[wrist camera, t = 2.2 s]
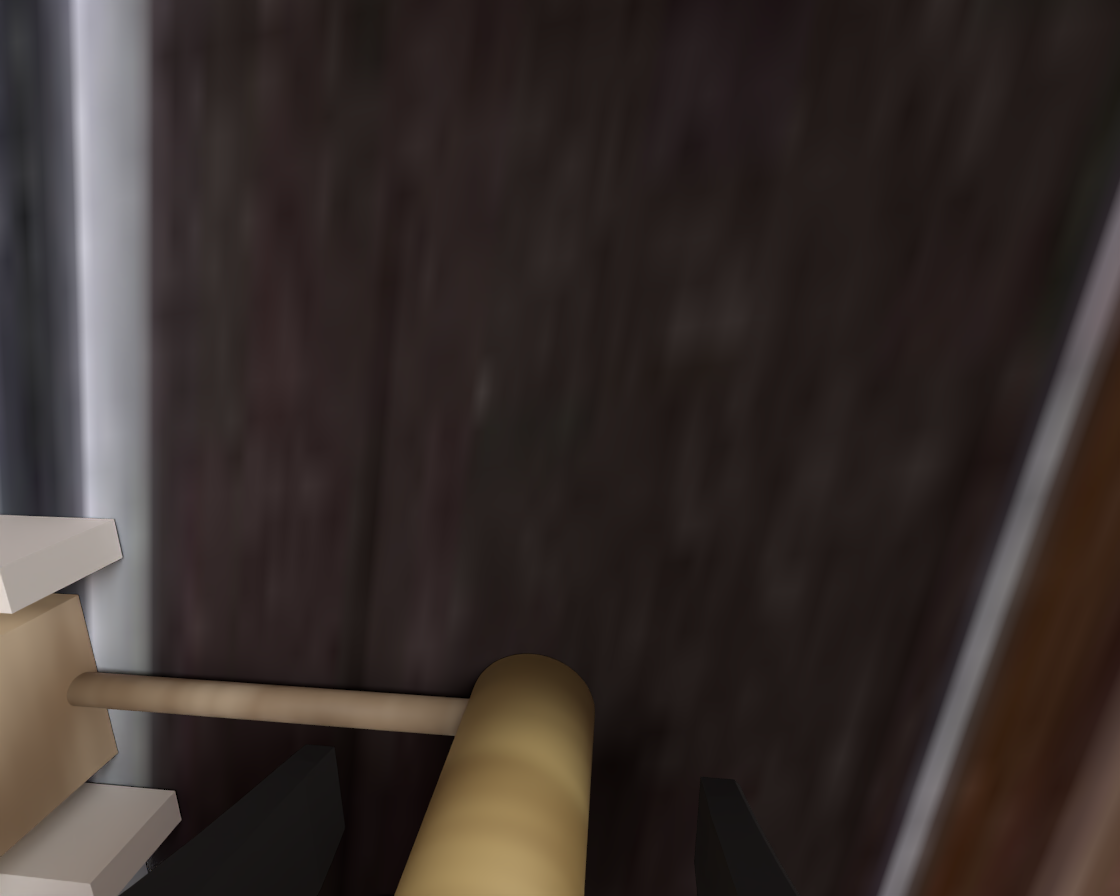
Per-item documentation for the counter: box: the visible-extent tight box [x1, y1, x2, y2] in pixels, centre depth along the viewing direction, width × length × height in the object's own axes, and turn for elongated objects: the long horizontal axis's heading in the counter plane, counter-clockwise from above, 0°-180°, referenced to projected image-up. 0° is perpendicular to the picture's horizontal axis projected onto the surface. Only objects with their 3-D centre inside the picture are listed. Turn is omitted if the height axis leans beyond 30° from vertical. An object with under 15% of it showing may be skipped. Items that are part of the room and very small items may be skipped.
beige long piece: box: [0, 593, 595, 896], centre depth 11 cm, size 5×18×6 cm, turn 91°
